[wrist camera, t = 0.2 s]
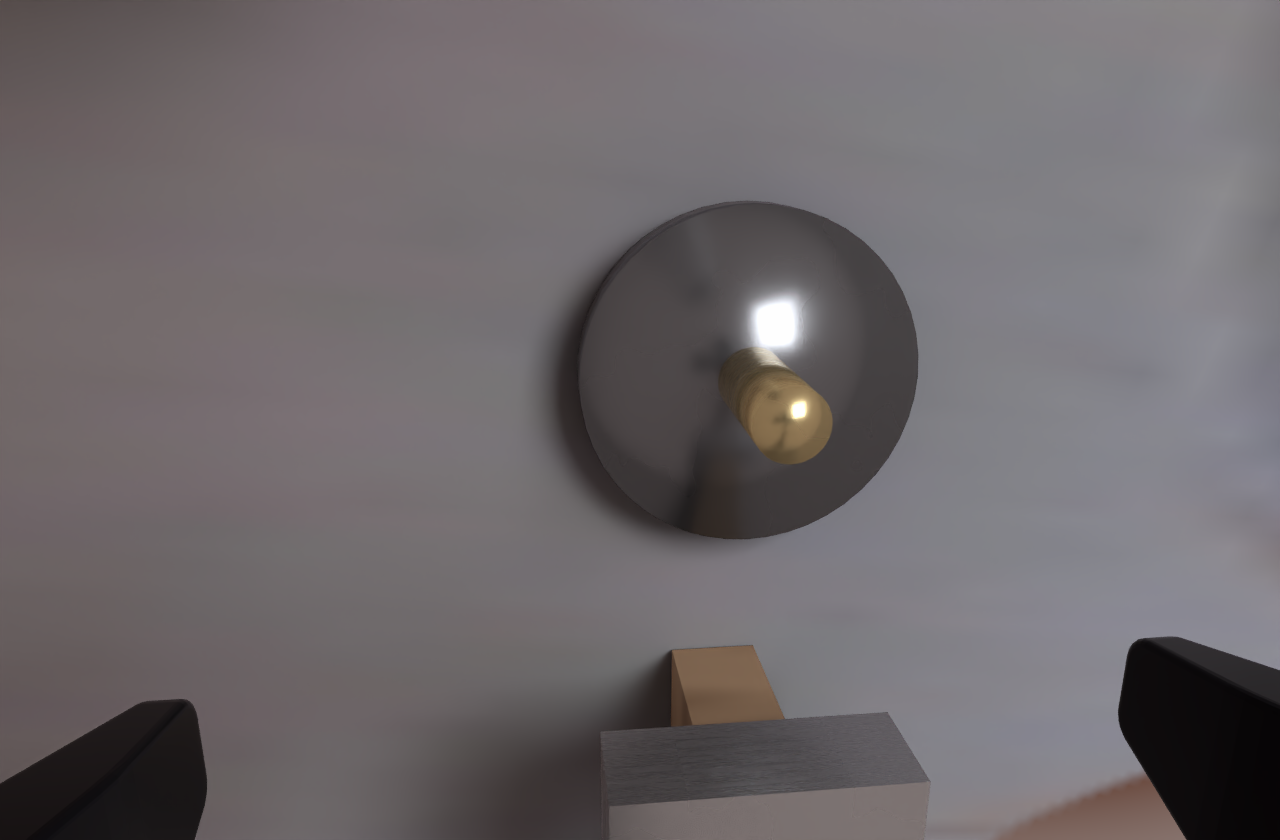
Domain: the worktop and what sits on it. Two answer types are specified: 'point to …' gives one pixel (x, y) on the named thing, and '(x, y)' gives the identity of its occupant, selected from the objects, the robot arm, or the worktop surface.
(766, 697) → the stand
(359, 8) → the worktop surface
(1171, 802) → the robot arm
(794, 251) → the hub
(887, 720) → the square frame block
